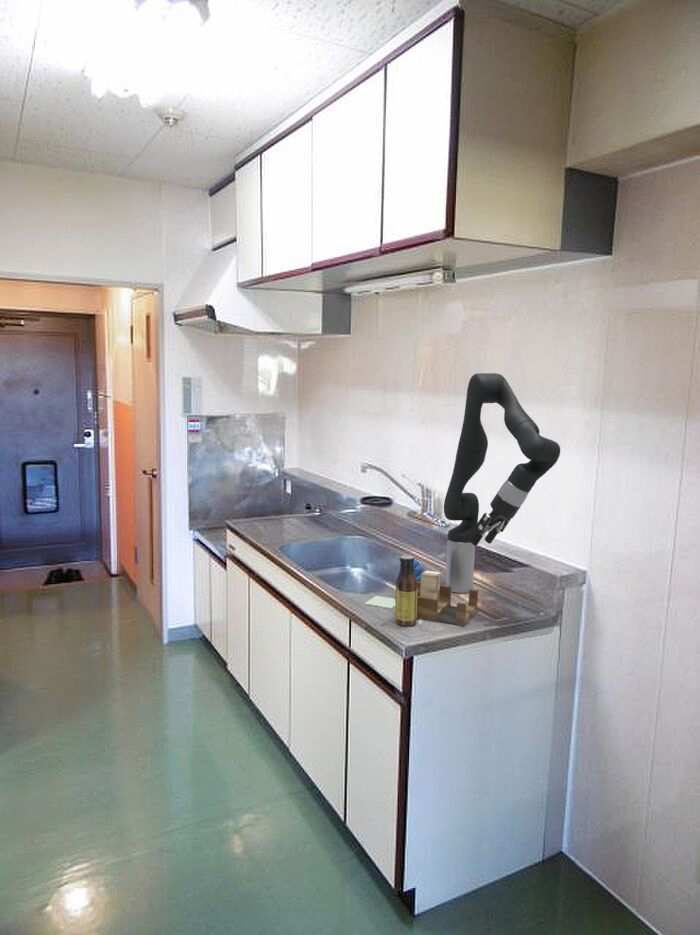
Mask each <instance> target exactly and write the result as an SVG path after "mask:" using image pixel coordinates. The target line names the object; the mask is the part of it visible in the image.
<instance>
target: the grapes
mask: <svg viewBox="0 0 700 935" xmlns="http://www.w3.org/2000/svg"><path fill="white" fill-rule="evenodd" d="M413 570H414V571H413V573H414V575H415V576H416V579H417V582H421V574H422V573H424V568H423V566H422V565H420V562H419V560H418V559H414V563H413Z"/></svg>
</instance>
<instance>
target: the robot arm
mask: <svg viewBox="0 0 700 935" xmlns="http://www.w3.org/2000/svg"><path fill="white" fill-rule="evenodd" d="M495 403H496V404H498V405H499V406H500V407H502V409H503V410H504V414H503V422H504V424H505V427H506V429H507V430H508V432H509V433H510V434H511V435H512V437H514V439H515V440H516V441H517V445H518V447H519V448H520V452H522V454H523V456H525V457H526V458H527V459H528V460H529V461H528V462H526V463H525V462H524V463H518V464H517V465H516V466H515V467H514V469H513V470H512V472H511V473H510V475H508V478H507V479H506V480H505V481H504V483H502V485H501V486H500V488H499V490H497V492H496V494H495V496H494V497H493V499H492V501H491V502H490V507H491V509H492V511H490V513H487V512H484V513H483V514H482V516H481V517H480V519H479V514H480V503H479V498H478V495H477V494H475V493H473V492H464V489H465V487H466V485H467V484H468V482H469V481H470V480H471V479H472V478H473V476H474V475H475V474H476V473H477V472H478V471H479V469H481V468H482V466H483V465H484V462H485V460H486V455H487V450H488V445H489V442H488V436H487V434H486V431H485V429H484V426H483V424H482V421H481V420H482V419H481V416H482V414H481V413H482V409H483V408H482V407H483V404H495ZM463 414H464V416H463V421H462V427H461V431H460V432H461V433H460V436H459V440H458V445H457V449H456V456H455V460H454V467H453V470H452V474H451V477H450V482H449V484H448V488H447V491H446V493H445V497H444V503H443V514H444V517H445V518H446V519H447V520H449V521H461V522H460V523H459V524H458V525H457V526H455V527H453V528H451V529H450V530H448V531H447V543H446V546H447V548H446V565H445V566H446V569H445V570H446V572H445V586H451V593H457V594H458V593H459V594H466V593H467V594H469V590H470V589H472V590H474V571H475V555H476V554H475V552H476V550H475V548H476V546H478V544H480V542H481V540H482V538H483V537H484V536H485V535H486V536H485V537H484V541H485V542H486V543H487V544H492V543H493V542H494V540H495V538H496V537H497V535H499V534H500V533H503V532H504V531H505V529H506V527H507V525H508V524H509V522H511V520H512V519H513V518H514V517H515V516H516V515H517V513H518V511H519V509H520V508H521V507H522V505H523V504H524V502H525V501H526V499H527V498H528V494H530V492H531V490H532V488H533V487H534V486H535V484H536V483H537V481H538V480H539V479H540V478H542V476H544V475H545V474H546V473H547V472H548V471H550V469H552V467H554V466H555V465H556V463H557V462H558V460H559V458H560V456H561V446H560V444H559V443H558V442H556V441H554V440H552V439H549V438H547V437H545V436H541V434H540V429H539V426H538V425H537V423H536V422H535V421H534V420H533V419H532V417H530V415H529V414H528V413H527V412H526V411H525V410H524V408H523V407H522V405H521V404H520V402H519V399H518V398H517V397H516V395H515V393H514V390H513V389H512V387H511V385H510V384H509V382H508V381H507V379H506V378H505V377H504V376H503V375H502V374H500V373H496V372H495V373H493V372H492V373H490V372H486V373H480V372H479V373H475V374H473V375H472V376H471V377H470V379H469V381H468V385H467V390H466V399H465V407H464V413H463ZM487 532H488V533H487Z"/></svg>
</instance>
